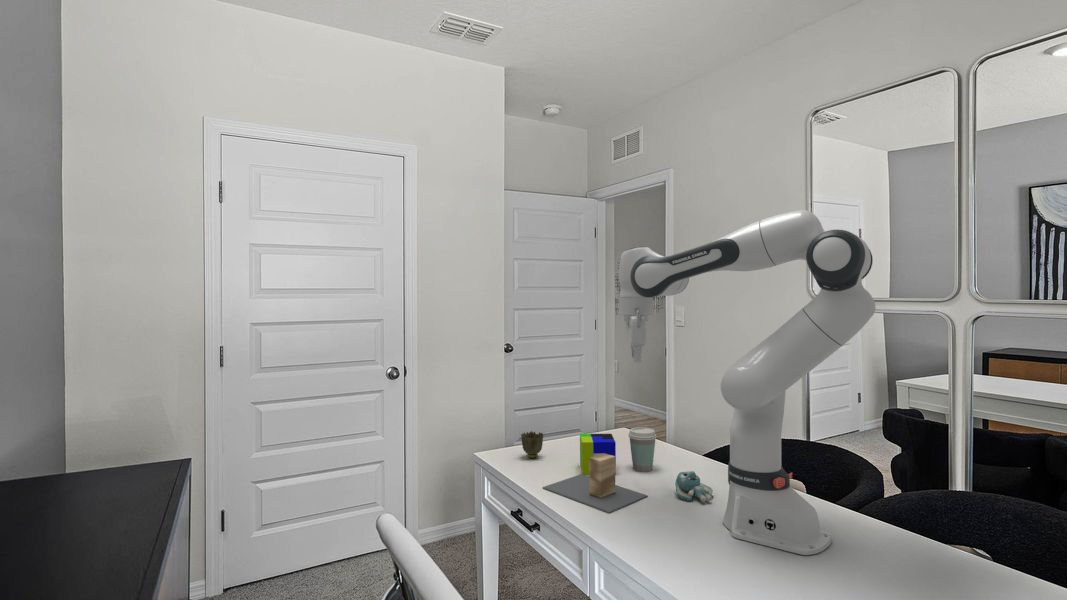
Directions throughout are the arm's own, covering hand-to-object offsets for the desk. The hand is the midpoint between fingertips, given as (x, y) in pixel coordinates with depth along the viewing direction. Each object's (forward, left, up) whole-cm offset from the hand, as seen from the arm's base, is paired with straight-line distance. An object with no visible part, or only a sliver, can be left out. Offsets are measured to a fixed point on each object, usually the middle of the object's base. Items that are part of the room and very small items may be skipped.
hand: (636, 359), depth 145 cm
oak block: (+6, +7, -36) cm, 37 cm away
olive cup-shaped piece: (+44, -2, -37) cm, 58 cm away
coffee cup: (+12, -19, -37) cm, 43 cm away
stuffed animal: (-11, -11, -37) cm, 40 cm away
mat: (+9, +7, -36) cm, 38 cm away
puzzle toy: (+21, -9, -37) cm, 44 cm away
